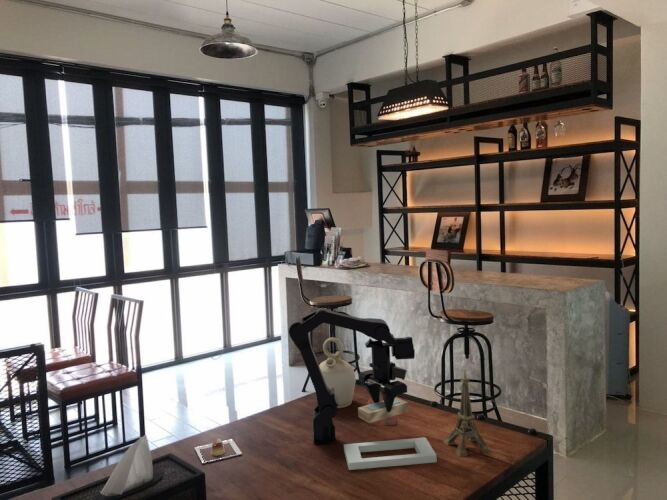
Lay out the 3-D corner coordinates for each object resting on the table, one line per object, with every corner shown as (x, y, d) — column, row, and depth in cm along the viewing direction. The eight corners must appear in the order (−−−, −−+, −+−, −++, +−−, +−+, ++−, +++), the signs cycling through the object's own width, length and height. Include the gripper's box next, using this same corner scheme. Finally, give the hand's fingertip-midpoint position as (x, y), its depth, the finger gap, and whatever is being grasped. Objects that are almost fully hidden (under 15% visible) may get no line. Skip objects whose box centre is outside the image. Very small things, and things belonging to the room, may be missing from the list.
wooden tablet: (397, 427, 178) (397, 422, 178) (367, 428, 179) (367, 423, 179) (393, 398, 205) (393, 394, 205) (367, 399, 206) (367, 394, 205)
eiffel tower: (442, 442, 165) (440, 362, 163) (473, 436, 168) (471, 358, 166) (459, 457, 155) (456, 372, 153) (492, 451, 157) (490, 367, 155)
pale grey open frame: (348, 470, 150) (348, 463, 150) (344, 450, 162) (343, 444, 162) (436, 462, 152) (436, 455, 152) (425, 443, 164) (425, 437, 164)
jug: (342, 413, 191) (339, 344, 189) (307, 406, 200) (303, 340, 198) (364, 399, 204) (361, 334, 202) (329, 393, 212) (326, 330, 210)
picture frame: (369, 423, 164) (368, 412, 163) (358, 417, 169) (357, 407, 168) (408, 411, 171) (407, 401, 171) (396, 406, 176) (396, 396, 176)
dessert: (202, 466, 157) (201, 451, 157) (194, 450, 168) (193, 435, 167) (242, 457, 162) (241, 441, 162) (232, 442, 173) (231, 427, 173)
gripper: (420, 362, 165) (422, 411, 166) (384, 349, 181) (386, 395, 182) (390, 369, 159) (392, 420, 160) (356, 355, 175) (358, 402, 176)
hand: (383, 408), depth 170 cm, fingers closed on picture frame, 6 cm apart
